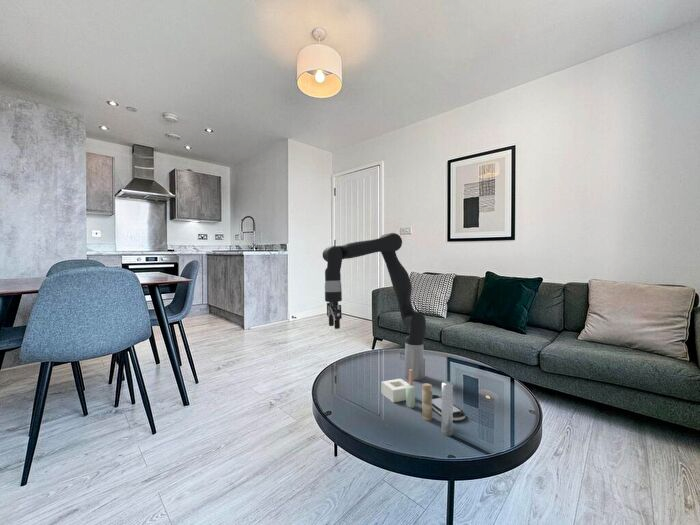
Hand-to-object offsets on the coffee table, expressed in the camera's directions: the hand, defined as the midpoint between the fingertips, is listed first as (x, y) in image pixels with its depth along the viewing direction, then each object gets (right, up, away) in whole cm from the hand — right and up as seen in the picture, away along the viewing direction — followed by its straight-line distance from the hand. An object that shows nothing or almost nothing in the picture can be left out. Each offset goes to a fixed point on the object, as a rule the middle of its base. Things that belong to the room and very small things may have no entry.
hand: (334, 327), depth 130 cm
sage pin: (+31, -29, -13) cm, 44 cm away
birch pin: (+36, -29, -22) cm, 51 cm away
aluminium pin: (+40, -28, -32) cm, 58 cm away
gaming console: (+44, -30, -15) cm, 55 cm away
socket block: (+27, -29, -3) cm, 40 cm away
